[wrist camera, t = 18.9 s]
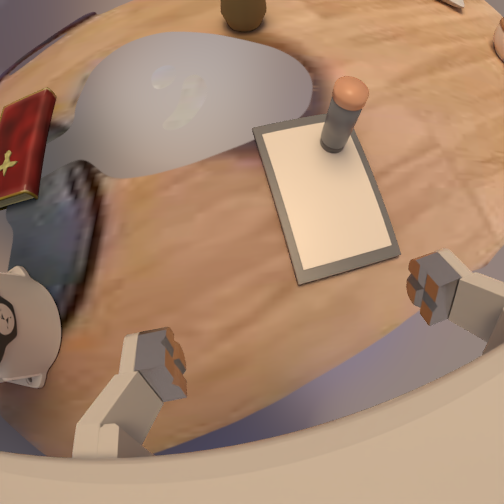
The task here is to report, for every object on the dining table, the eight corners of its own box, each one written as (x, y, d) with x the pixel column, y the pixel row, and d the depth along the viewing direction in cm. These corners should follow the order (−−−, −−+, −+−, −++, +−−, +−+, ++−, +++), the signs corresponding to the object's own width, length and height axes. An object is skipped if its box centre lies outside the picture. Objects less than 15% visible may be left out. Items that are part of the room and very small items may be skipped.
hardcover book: (58, 97, 47) (47, 85, 43) (40, 199, 44) (25, 190, 39) (14, 116, 48) (2, 106, 43) (-6, 212, 44) (-21, 205, 40)
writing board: (297, 285, 39) (299, 284, 38) (252, 131, 44) (252, 127, 42) (398, 255, 40) (401, 254, 38) (343, 114, 44) (345, 110, 43)
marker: (324, 157, 41) (342, 105, 29) (314, 133, 42) (329, 78, 30) (349, 152, 41) (374, 100, 29) (339, 129, 42) (360, 74, 30)
